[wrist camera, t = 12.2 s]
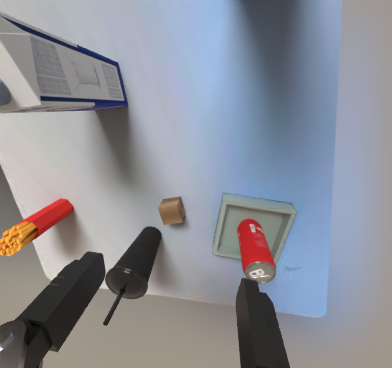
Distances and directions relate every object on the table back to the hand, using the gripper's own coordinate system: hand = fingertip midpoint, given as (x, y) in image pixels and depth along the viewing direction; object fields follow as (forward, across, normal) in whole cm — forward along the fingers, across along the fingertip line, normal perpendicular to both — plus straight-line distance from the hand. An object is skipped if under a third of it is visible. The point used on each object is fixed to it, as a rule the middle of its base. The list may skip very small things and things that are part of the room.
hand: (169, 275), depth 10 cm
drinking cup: (+27, +10, +22) cm, 36 cm away
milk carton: (+28, +19, -10) cm, 35 cm away
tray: (+27, -12, +15) cm, 33 cm away
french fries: (+27, +33, +18) cm, 47 cm away
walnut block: (+27, +5, +13) cm, 30 cm away
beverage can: (+26, -12, +15) cm, 33 cm away
